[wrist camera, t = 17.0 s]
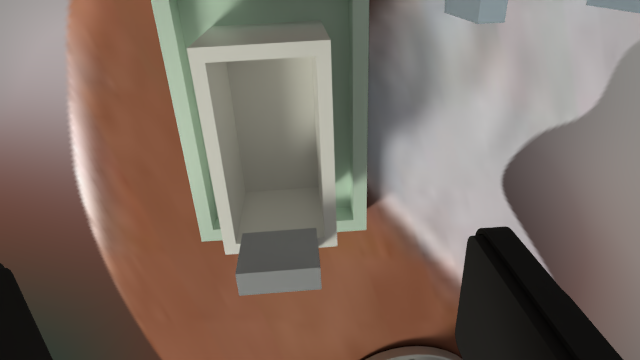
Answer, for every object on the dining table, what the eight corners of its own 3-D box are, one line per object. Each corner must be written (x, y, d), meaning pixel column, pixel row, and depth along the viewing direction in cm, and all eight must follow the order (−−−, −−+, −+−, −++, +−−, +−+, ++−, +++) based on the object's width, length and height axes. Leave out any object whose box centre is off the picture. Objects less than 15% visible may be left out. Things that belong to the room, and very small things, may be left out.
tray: (361, 212, 28) (366, 229, 26) (207, 223, 28) (201, 241, 26) (362, -32, 21) (369, -31, 19) (158, -23, 21) (146, -21, 19)
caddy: (327, 188, 26) (344, 287, 18) (238, 194, 26) (216, 297, 18) (320, 20, 22) (338, 55, 14) (211, 26, 22) (166, 65, 14)
